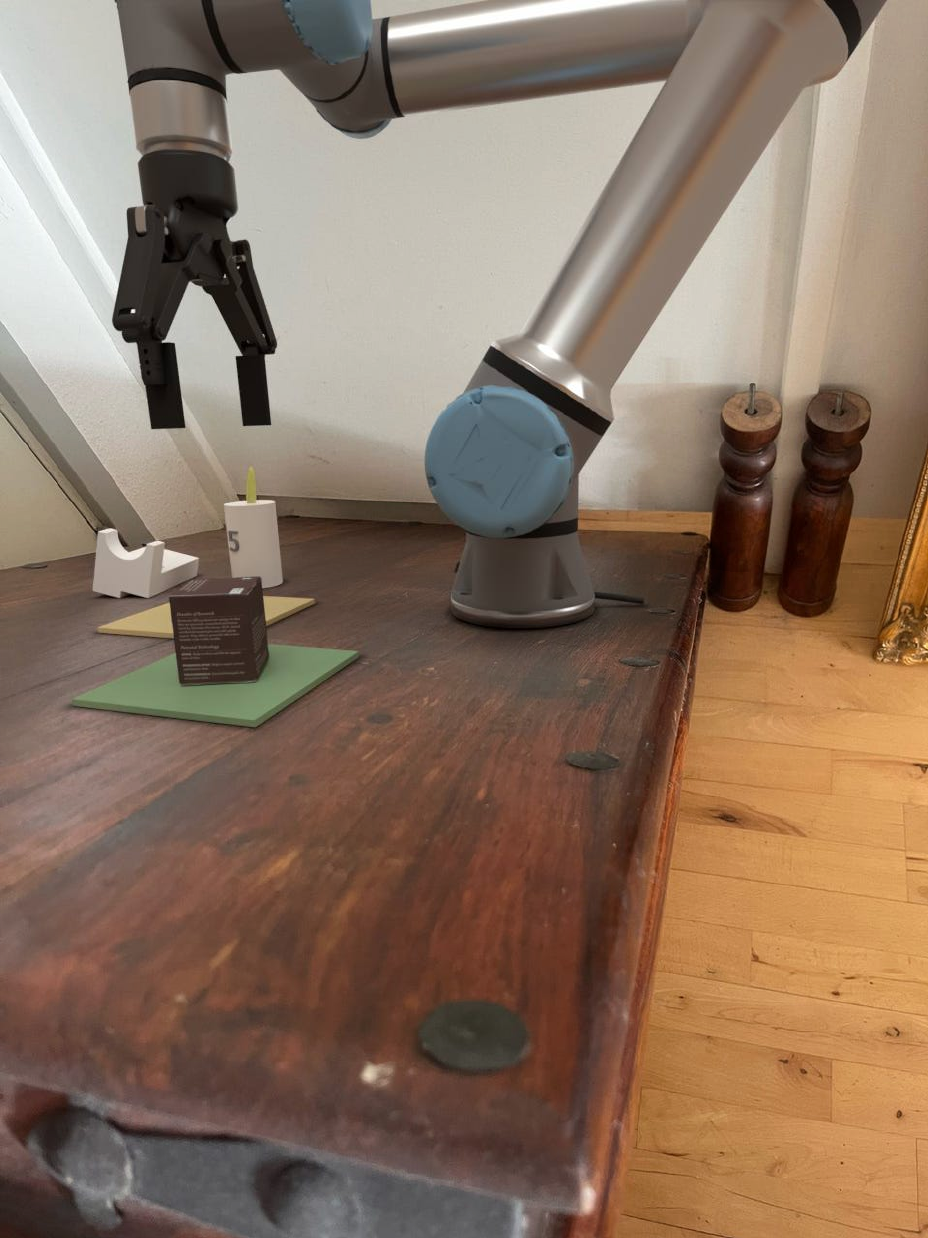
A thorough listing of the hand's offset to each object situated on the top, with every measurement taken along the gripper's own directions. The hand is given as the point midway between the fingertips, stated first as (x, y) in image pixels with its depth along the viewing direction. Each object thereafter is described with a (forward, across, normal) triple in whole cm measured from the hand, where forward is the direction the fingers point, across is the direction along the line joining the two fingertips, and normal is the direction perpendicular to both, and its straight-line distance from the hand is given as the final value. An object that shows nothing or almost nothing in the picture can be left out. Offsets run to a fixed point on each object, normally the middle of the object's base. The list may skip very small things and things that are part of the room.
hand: (217, 427), depth 67 cm
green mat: (+20, +10, +5) cm, 23 cm away
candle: (+20, -24, -12) cm, 33 cm away
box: (+20, +10, +5) cm, 23 cm away
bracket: (+20, -20, -26) cm, 38 cm away
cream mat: (+20, -7, -8) cm, 23 cm away
